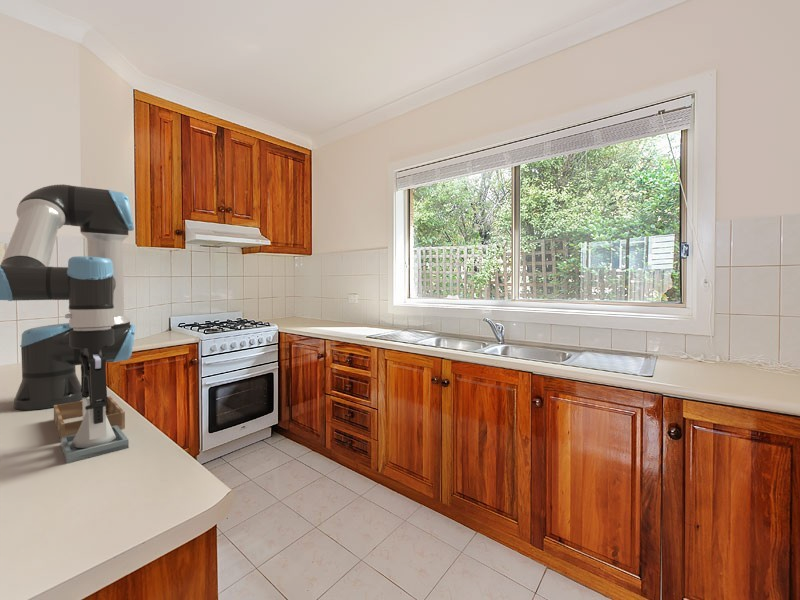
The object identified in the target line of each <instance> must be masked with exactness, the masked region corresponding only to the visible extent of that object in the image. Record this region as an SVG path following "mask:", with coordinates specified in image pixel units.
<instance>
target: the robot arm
mask: <svg viewBox="0 0 800 600" xmlns="http://www.w3.org/2000/svg"><path fill="white" fill-rule="evenodd" d="M16 216H17V218H18V220H17V223H16V225H15V228H14V231H13V233H12V235H11V237H10V241H9V243H8V244H7V248H6V250H5V253H4V255H3V257H2V260H1V262H0V301H8V302H13V301H14V302H15V301H17V302H18V301H49V300H50V301H68V312H69V313H66V314H64V318H65V319H69V320H68V322H67V323H64V322H63V323H56V324H49V325H44V326H43V325H42V326H37V327H32V328H28V329H26V330H24V331H22V334H21V342H20V348H21V349H20V350H21V377H22V378H21V381H20V382H21V383H20V384H19V386H18V389H17V392H16V395H15V397H14V399H13V408H14V409H15V410H21V411H32V410H33V411H34V410H35V411H36V410H44V409H51V408H54V405H59V404H65V403H72V402H78V401H82V406H83V416H82V420H83V419H84V417H85V414H86V410H88V409H89V440H92V439H96V438H100V437H105V436H106V415H107V411H106V405H107V404H108V401H107V397H108V390H107V388H108V386H107V371H106V369H107V367H106V365H107V364H108V363H112V364H113V363H115V362H116V363H117V362H125V361H127V360H129V359H131V357H132V353H133V347H134V342H135V333H136V325H134V324H131V321H130V318H128V317H127V316H126V315H125V301H124V299H125V297H124V295H125V293H124V292H125V291H124V250H123V249H124V247H123V246H124V245H123V244H124V243H123V242H124V240H126V239H127V238H128V237H129V231H130V232H131V231H132V232H133V231H134V223H133V222H134V221H133V217H132V210H131V205H130V198H129V197H128V195H127V194H126V193H124V192H122V191H121V192H120V191H115V190H110V189H103V188H102V189H101V188H93V187H85V186H76V185H70V184H52V185H47V186H43V187H40V188H37V189H36V190H33V191H32V192H29V194H27V195H25V196H24V197H23V198H22V199H21V200H20V201H19V203H18V205H17V208H16ZM63 226H71V227H72V226H73V227H80V228H79V231H80V232H79V233H80V234H81V235H82V236H84V237H85V238H86V241H87V244H86V246H87V247H86V248H87V256H71V257H70V258H68V261H67V266H64V267H63V266H50V262H51V258H52V254H53V251H54V246H55V242H56V238H57V234H58V230H59V229H62V227H63ZM106 363H107V364H106ZM76 366H80V374H81V377H80V379H81V380H79V378H78V375H77V374H76ZM87 397H89V400H90V405H89V406H87V404H88V402H87V401H86V398H87ZM97 400H100V401H97Z"/></svg>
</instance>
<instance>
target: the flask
mask: <svg viewBox="0 0 800 600" xmlns="http://www.w3.org/2000/svg"><path fill="white" fill-rule="evenodd" d="M86 401H87V402H88V404H87V406H89V405H90V400H89V397H87V398H86ZM97 401H100V400H97ZM82 420H83V421H82V423H81V425H80V428H79V430H78V432H77V434H76V435H75V437H74V439H73V441H72V445H73V446H75V447H76V448H90V447H94V446H98V445H103V444H107V443H109V442H111V441H112V440H114V439H116V436H115V434H114V431H113V429H112V427H111V425H110V423H109V421H108V418H107V416H106V436H105V437H100V438H96V439H92V440H89V409H88V410H86V414H85V417H84V419H83V418H82Z"/></svg>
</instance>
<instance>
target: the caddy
mask: <svg viewBox="0 0 800 600" xmlns="http://www.w3.org/2000/svg"><path fill="white" fill-rule="evenodd" d="M107 401H108V404H107V405H106V412H108V413H109V414H106V416H107V418H108V421H109V423H110V425H111V426H116V425H117V426H118V427H119V428H120V429H121V430H124V429H125V428H126V417H125V416H126V415H125V413H126V411H124V409H123V408H121V406H120V405H119V404H118V403H117V402H116V401H115V400H114V399H113V397H111V396H109V395H107ZM78 417H83V406H82V400H79V401H77V402H72V403H65V404H59V405H54V407H53V421H54V425H55V427H56V431H57V433H58V436H59V440H61V437H64V436H69V435H73V434H77V432H78V430H79V428H80V425H81V423H82V421H83V419H79V420H74V421H70V422H64V420H68V419H74V418H78Z"/></svg>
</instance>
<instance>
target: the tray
mask: <svg viewBox="0 0 800 600" xmlns="http://www.w3.org/2000/svg"><path fill="white" fill-rule="evenodd" d="M111 427H112V429H113V431H114V434H115V436H116V439H114V440H112V441H111V442H109V443H107V444H103V445H98V446H94V447H90V448H76V447H75V446H73V445H72V441H73V439H74V437H75V435H76V434H73V435H69V436H64V437H61V439H60V447H61V451H62V453H63V456H64V459H65V462H66V464H70V463H73V462H77V461H81V460H86V459H90V458H93V457H94V458H95V457H97V456H102V455H105V454H110V453H113V452H116V451H121V450H124V449H129V438H128V437H127V435H126V434H125V433H124V432H123V431H122V429H120V428H119V427H118V426H117V425H116V426H111Z"/></svg>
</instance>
